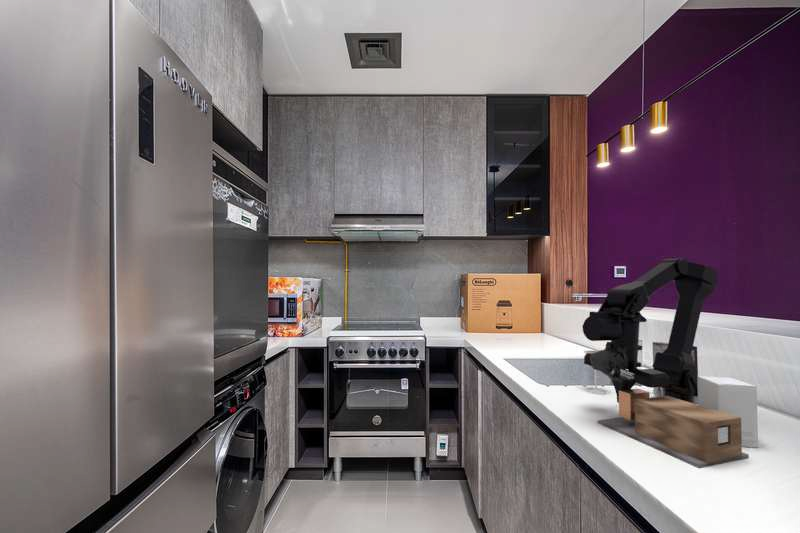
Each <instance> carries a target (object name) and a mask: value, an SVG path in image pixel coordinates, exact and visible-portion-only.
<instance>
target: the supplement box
mask: <svg viewBox="0 0 800 533" xmlns="http://www.w3.org/2000/svg"><path fill="white" fill-rule="evenodd" d="M757 389H758V387H757V386H756V385H753V384H751V383H748V382H745V381H742V380H740V379H739V380H738V378H737V379H736V378H733V377H725V376H724V377H723V376H722V377H721V376H705V375H704V376H703V375H698V404H697V405H700V406H704V407H707V408H710V409H714V410H717V411H720V412H724V413H727V414H730V415H734V416H737V417H741V434H742V448H743V447H746V448H752V449H753V448H757V449H758V448H759V429H758V428H759V427H758V424H759V422H758V392H757Z"/></svg>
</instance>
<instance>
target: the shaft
mask: <svg viewBox="0 0 800 533" xmlns="http://www.w3.org/2000/svg"><path fill="white" fill-rule="evenodd" d="M642 398H651V396H650V391H647V390H644V389H640V388H631V389H627V390H619V403H618V417H622V418H625V419H628V420H630V421H632V420H635V399H642ZM724 442H728V427H727V426H719V427H718V443H724Z"/></svg>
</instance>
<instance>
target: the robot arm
mask: <svg viewBox="0 0 800 533" xmlns="http://www.w3.org/2000/svg"><path fill="white" fill-rule="evenodd" d="M718 280H719V274H718V272H717V270H715V269H714V268H713V267H712V266H711V265H705V264H701V263H695V262H691V261H688V260H687V259H683V258H666V259H663V260H661V261H660V263H659V264H658V265H656V266H654V267H653V268H652V269H650V270H648V271H647V272H645V273H644V274H643V275H641V276H640V277H638V278H636V279H635V280H634V281H632V282H629V283H624V284H620V285H617V286H615V287H613V288H611V289H610V290H608V291H607V293H606V294H607V295H606V297H605V298H604V300H603V302H602V303H601V304H600V305H601V306H600V307H599V309H598V310H597V311H589V316H588V317H587V318H586V319H584V322H583V324H582V333H583V334H584V337H585V338H586V339H587V340H589V341H590V342H591V341H592V342H602V341H603V342H604V341H606V343H605V348H604V349H601V350H600V349H599V350H597V351H598V352H596V353H587V354H586V355H585V354H584V356H585V357H584V356H583V364H585V365H587V366H588V365H589V366H592V368H593V369H594V370H599V371H598V372H601V373H603V374H604V375H605V376H607V377H608V378H609V379H610V380H611V382H612V384H613V387H614V390H615V393H616V402H617V403H618V404H619V390H627V389H633V387H634V386H635V385H636V384H638V385H641V386H644V387H647V388H651V389H652V388H653V389H654V387H661V388H664V389H666V390H665V396H670V397H673V398H677V399H680V400H683V401H687V402H690V403H693V404H696V403H695V396H697V397H698V377H697V376H696V368H697V367H696V364H695V362H694V360H693V358H692V356H691V353H692V348H693V346H694V342H695V339H696V334H697V329H698V326H699V320H700V317H701V313H702V307H703V303H704V300H706V299H707V298H708V297H709V296H710V295H711V294H712V293H714V291H715V288H716V285H717V282H718ZM671 281H673V282H674V287H675V288H674V289H675V290H676V293H677V294H678V300H677V303H676V304H677V305H676V309H675V314H674V317H673V322H672V327H671V330H670V335H669V338H668V339H669V340H668V342H667V343H668V347H667V349H666V350H665V351H663V352H662V353H661V352H657V353H656V355H655V361H654V364H653V363H652V368H642V369H641V367H642V362H639V361H638V358H639V357H638V356H639V355H638V354H639V351H643V345H640V344H639V341H640V340H639V339H640V338H639V337H640V324H641V323H647V318H646V317H644V316H643V314H642V313H641V311H642V310H643V309H644V308H645V307H646V306H647V305H648V304H649V303H650V297H651V296H652V295H654V294H655V293H656V292H657V291H658V290H660V289H662V288H663V287H664V286H666V285H667V284H669V283H670V282H671ZM589 366H588V367H589ZM653 367H654V368H653ZM592 368H591V369H592ZM639 368H640V369H639ZM593 369H592V370H593ZM594 370H593V371H594Z"/></svg>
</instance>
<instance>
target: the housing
mask: <svg viewBox="0 0 800 533" xmlns="http://www.w3.org/2000/svg"><path fill="white" fill-rule="evenodd" d="M597 424H599V425H602V426H604V427H606V428H608V429H611V430H612V431H615V432H617V433H619V434H622V435H624V436H627V437H629V438H630V439H633V440H635V441H638V442H640V443H642V444H644V445H645V446H649V447H650V448H652V449H653V448H654V449H656V450H658V451H660V452H663V453H665V454H666V455H669V456H671V457H673V458H676V459H679V460H680V461H683V462H684V463H687V464H690V465H692V466H694V467H696V468H698V469H701V468H704V467H705V468H707V467H710V466H715V465H719V464H724V463H729V462H730V463H731V462H734V461H739V460H745V459H749V456H750V455H749V453H746V452H743V446H742V434H741V417H737V416H734V415H730V414H727V413H724V412H720V411H717V410H714V409H710V408H707V407H704V406H700V405H698V404H696V403H695V404H693V403H690V402H687V401H683V400H680V399H677V398H673V397H670V396H660V397H656V396H653V397H652V396H650V398H642V399H635V420H632V421H630V420H628V419H625V418H622V417H620V416H618V417H611V418H604V419H598V420H597ZM719 426H727V427H728V442H724V443H718V427H719Z"/></svg>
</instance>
